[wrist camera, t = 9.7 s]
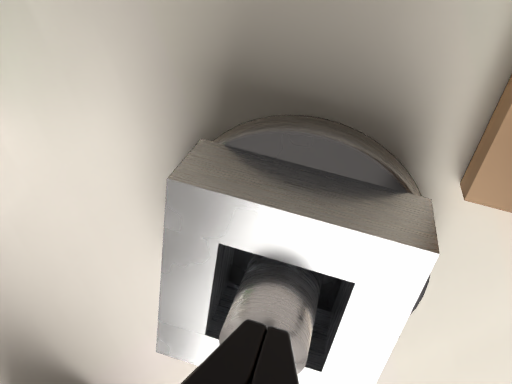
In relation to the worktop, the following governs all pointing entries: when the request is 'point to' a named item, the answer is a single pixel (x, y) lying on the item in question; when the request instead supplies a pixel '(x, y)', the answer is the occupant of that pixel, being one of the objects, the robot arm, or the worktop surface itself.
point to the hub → (283, 274)
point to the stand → (493, 160)
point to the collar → (292, 255)
